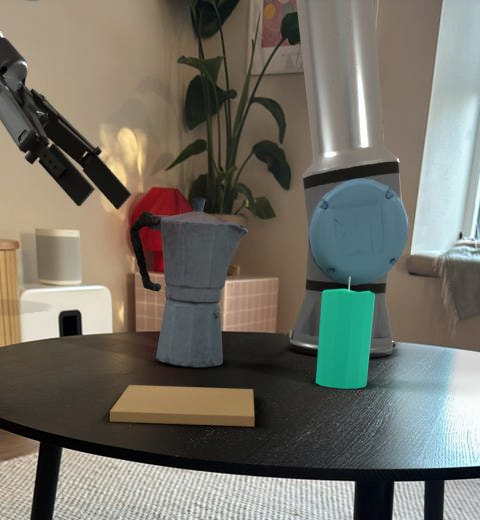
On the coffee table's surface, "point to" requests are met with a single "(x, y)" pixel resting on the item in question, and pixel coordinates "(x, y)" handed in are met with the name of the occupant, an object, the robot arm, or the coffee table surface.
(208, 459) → the coffee table surface
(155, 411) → the cork trivet
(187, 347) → the moka pot
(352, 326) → the candle
